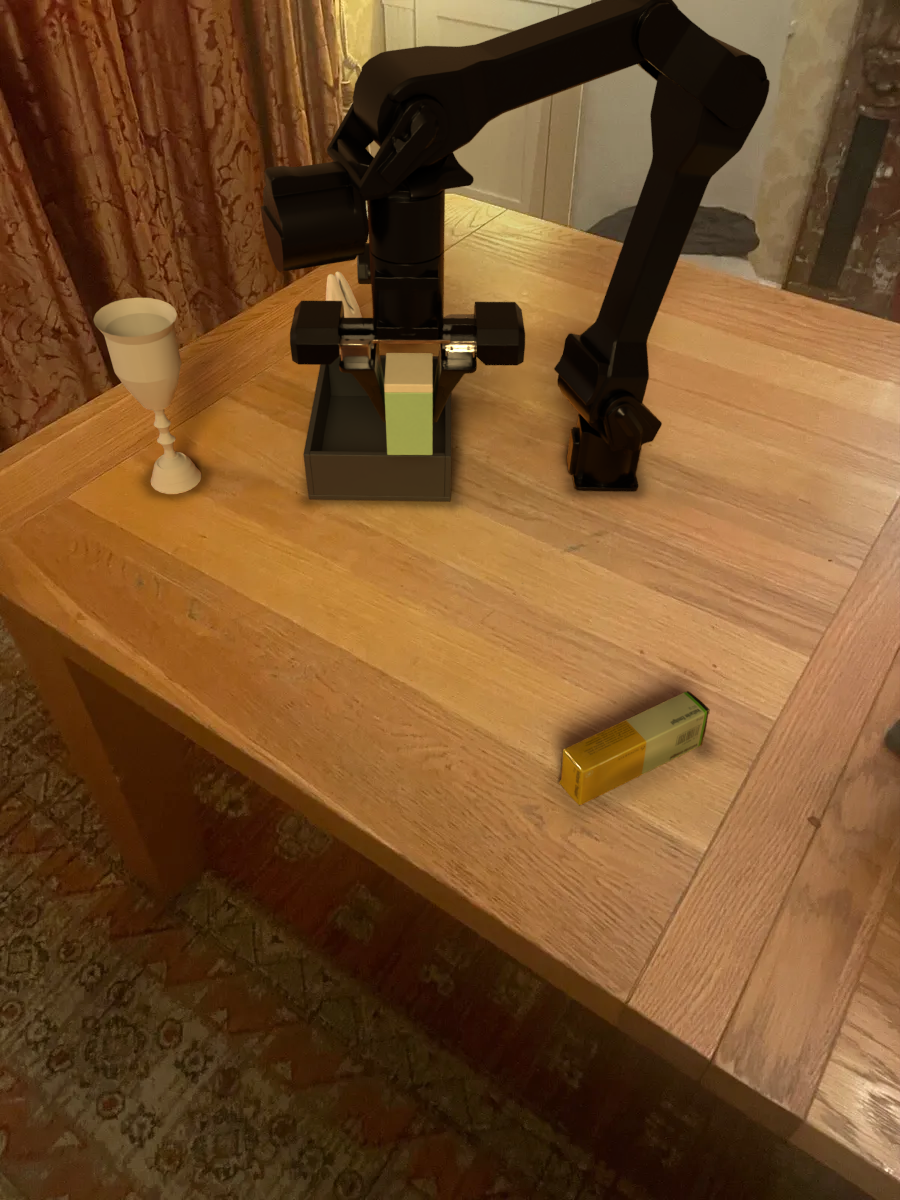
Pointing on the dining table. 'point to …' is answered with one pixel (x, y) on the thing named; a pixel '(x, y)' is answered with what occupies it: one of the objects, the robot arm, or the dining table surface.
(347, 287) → the shaker set
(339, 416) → the bin
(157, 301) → the chalice
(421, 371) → the juice carton
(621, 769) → the medication box
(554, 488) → the dining table surface
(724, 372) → the dining table surface
